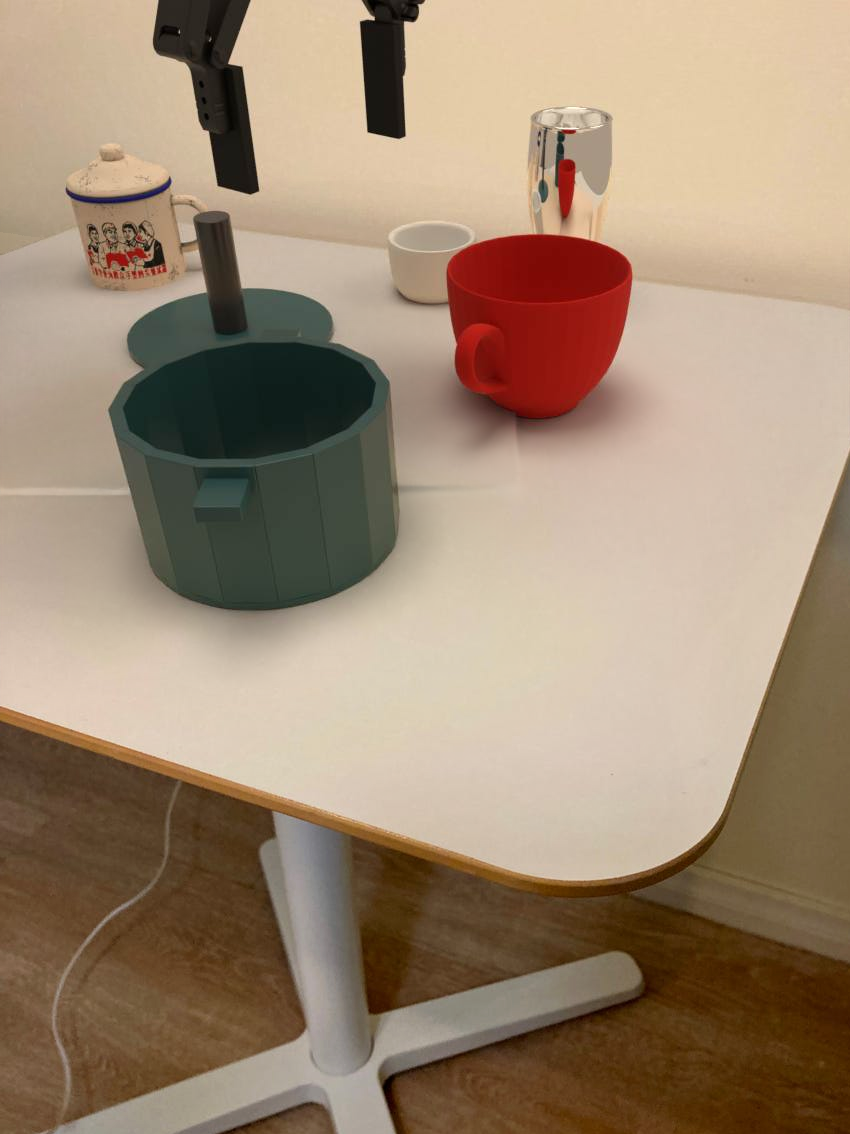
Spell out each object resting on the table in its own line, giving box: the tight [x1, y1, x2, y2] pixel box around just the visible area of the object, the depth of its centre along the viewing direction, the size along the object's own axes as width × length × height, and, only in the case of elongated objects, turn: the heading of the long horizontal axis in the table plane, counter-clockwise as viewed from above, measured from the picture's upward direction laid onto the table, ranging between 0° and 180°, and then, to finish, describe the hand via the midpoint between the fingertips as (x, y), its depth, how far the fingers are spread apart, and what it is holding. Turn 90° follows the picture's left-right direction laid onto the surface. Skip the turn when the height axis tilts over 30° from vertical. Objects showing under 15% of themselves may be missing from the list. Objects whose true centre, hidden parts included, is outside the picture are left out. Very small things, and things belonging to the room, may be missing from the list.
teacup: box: [387, 220, 478, 305], centre depth 92 cm, size 10×8×5 cm
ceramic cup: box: [446, 233, 633, 419], centre depth 74 cm, size 13×17×10 cm
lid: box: [126, 210, 334, 369], centre depth 83 cm, size 17×17×10 cm
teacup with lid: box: [65, 142, 210, 292], centre depth 94 cm, size 12×9×12 cm
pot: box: [107, 329, 400, 611], centre depth 62 cm, size 16×21×10 cm
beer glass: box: [526, 106, 614, 243], centre depth 87 cm, size 7×7×15 cm
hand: (317, 160), depth 65 cm, fingers open, 13 cm apart
